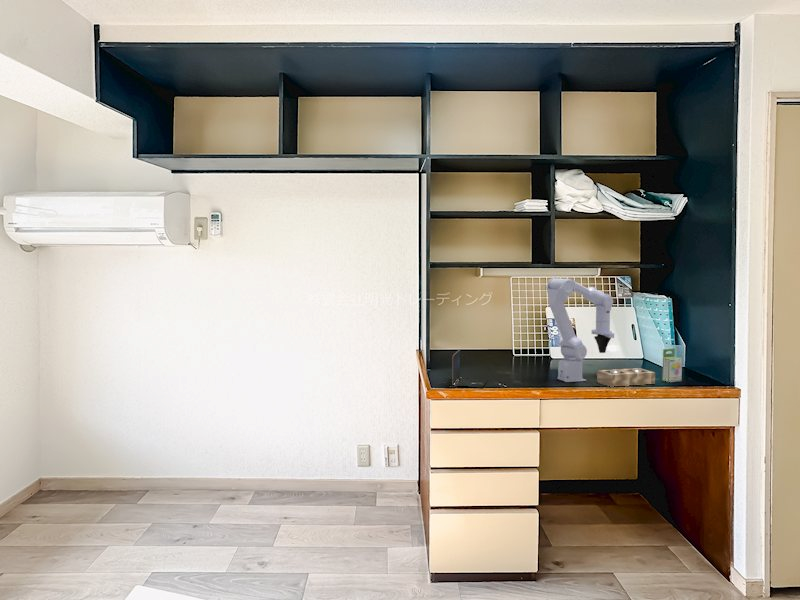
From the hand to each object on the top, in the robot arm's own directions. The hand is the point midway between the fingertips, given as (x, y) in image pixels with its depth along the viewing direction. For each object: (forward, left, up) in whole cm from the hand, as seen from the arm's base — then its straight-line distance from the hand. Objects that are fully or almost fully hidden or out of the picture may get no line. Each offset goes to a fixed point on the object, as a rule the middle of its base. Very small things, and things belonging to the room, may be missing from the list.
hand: (602, 352), depth 268 cm
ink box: (+22, -17, -11) cm, 30 cm away
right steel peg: (+6, -16, -10) cm, 20 cm away
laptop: (-60, +1, -11) cm, 61 cm away
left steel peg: (-4, -16, -10) cm, 19 cm away
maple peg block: (+1, -16, -10) cm, 19 cm away
